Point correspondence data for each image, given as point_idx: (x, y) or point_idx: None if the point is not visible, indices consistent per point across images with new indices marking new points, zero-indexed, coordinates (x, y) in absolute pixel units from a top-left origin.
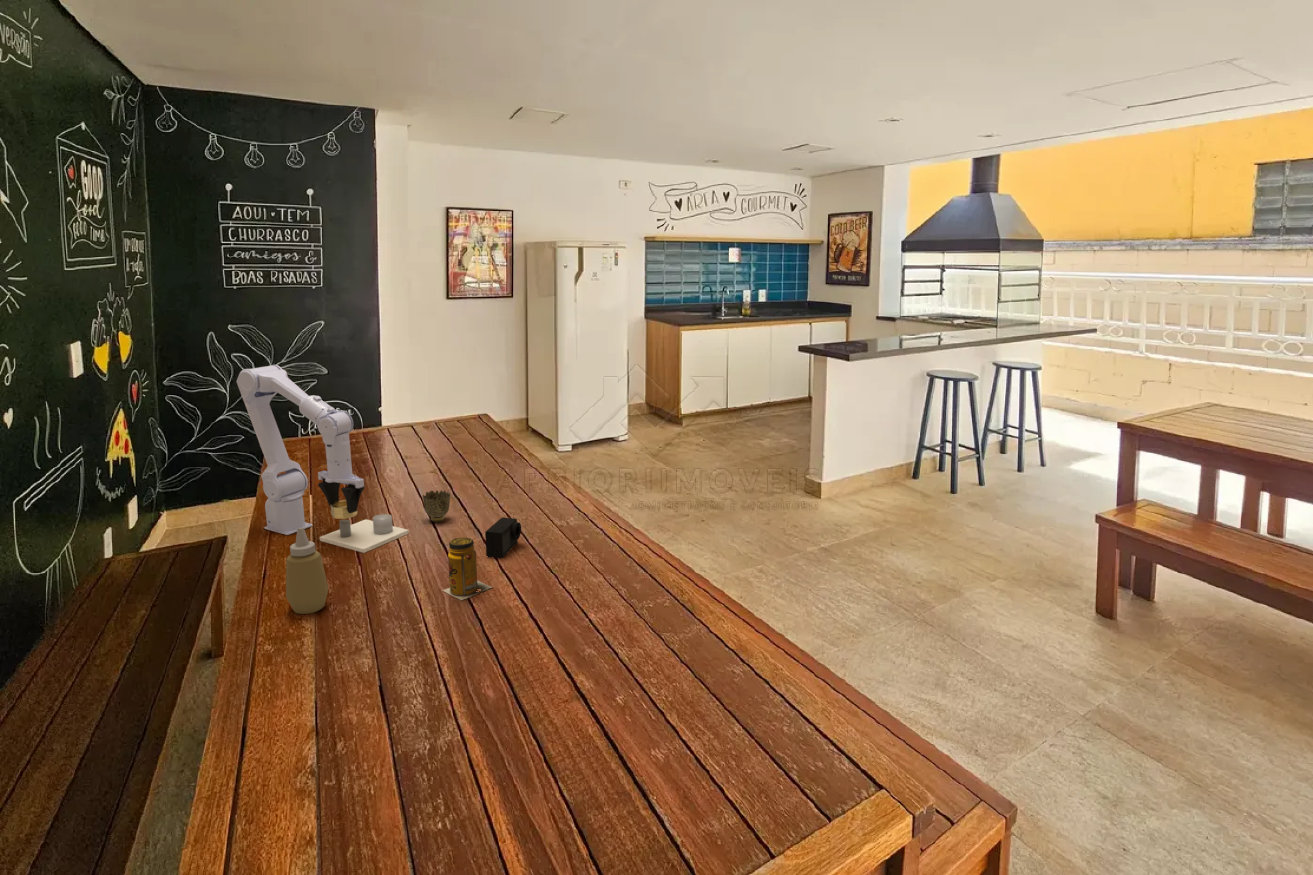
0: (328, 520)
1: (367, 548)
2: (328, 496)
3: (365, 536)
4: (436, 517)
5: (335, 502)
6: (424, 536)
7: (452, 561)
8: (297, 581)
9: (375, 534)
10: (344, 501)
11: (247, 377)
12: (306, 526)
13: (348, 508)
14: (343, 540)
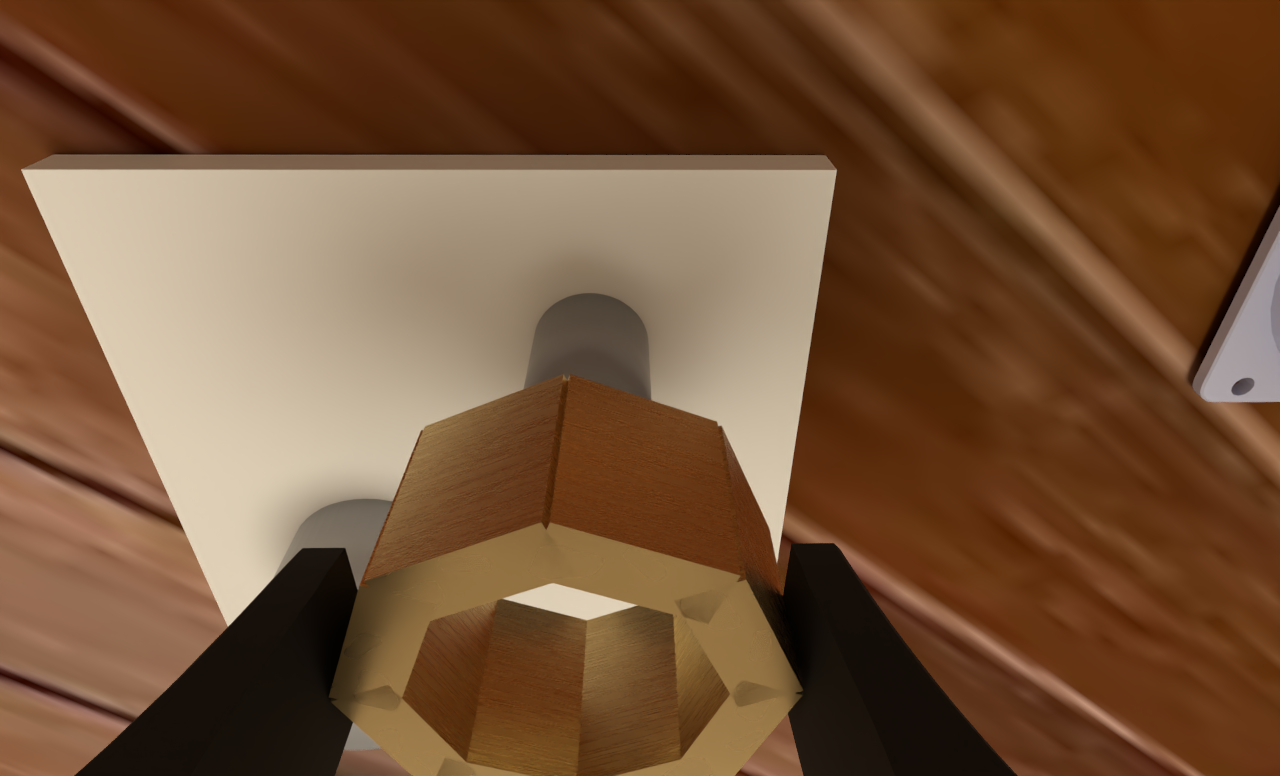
0: (1120, 533)
1: (54, 222)
2: (883, 761)
3: (394, 421)
4: None
5: (763, 676)
6: (99, 642)
7: None
8: None
9: (366, 492)
10: (674, 752)
11: None
12: (1238, 334)
13: (266, 609)
14: (485, 239)
